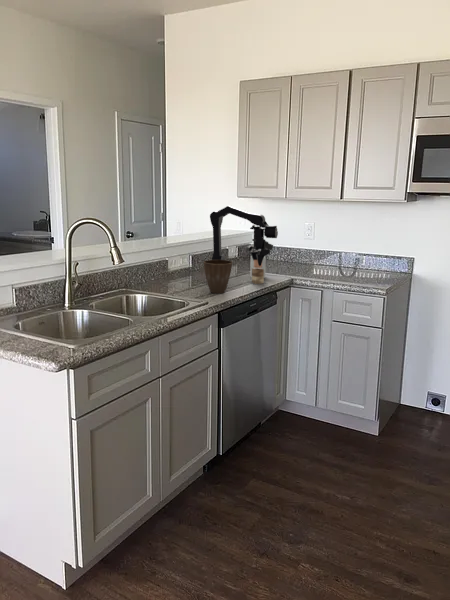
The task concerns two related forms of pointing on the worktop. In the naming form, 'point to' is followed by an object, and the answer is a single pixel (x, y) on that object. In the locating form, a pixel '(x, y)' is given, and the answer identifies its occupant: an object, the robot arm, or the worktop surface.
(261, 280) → the maple cube
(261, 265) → the peach rounded piece
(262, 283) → the pad
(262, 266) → the supplement box
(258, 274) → the walnut cube
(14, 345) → the worktop surface
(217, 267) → the plant pot
